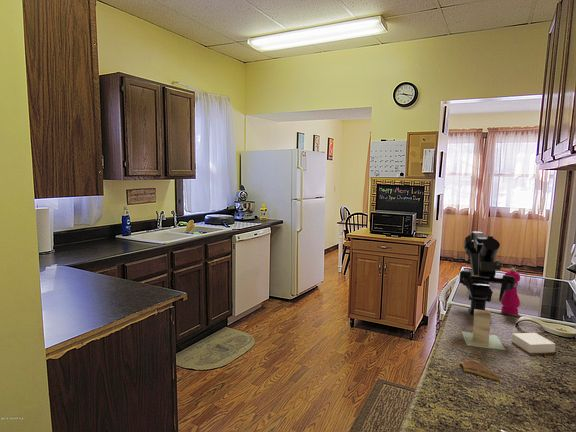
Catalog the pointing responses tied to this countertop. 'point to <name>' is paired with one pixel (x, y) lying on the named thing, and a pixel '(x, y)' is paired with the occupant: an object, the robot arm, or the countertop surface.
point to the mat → (493, 344)
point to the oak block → (481, 327)
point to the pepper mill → (511, 295)
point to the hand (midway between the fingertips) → (485, 299)
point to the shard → (478, 369)
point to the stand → (533, 342)
